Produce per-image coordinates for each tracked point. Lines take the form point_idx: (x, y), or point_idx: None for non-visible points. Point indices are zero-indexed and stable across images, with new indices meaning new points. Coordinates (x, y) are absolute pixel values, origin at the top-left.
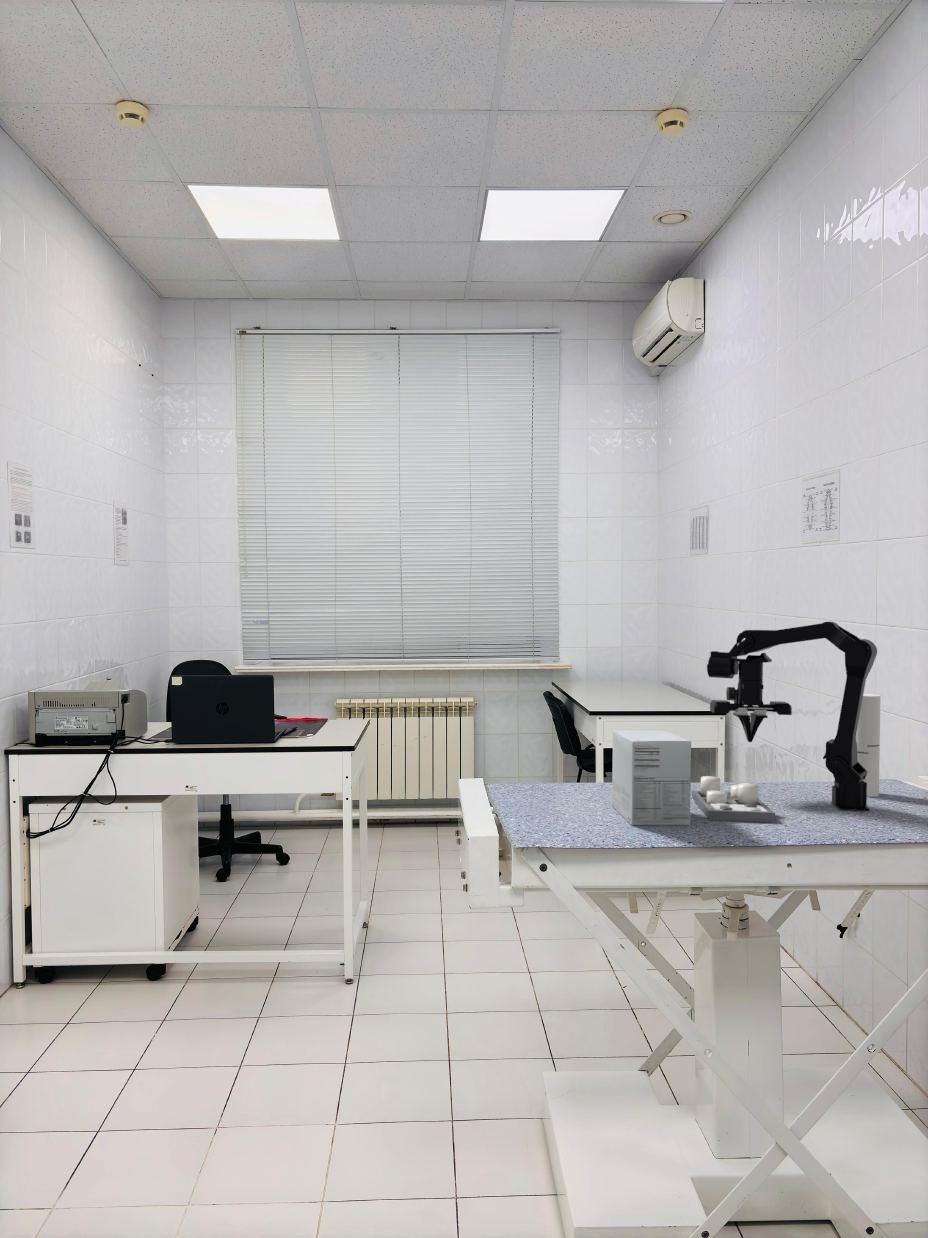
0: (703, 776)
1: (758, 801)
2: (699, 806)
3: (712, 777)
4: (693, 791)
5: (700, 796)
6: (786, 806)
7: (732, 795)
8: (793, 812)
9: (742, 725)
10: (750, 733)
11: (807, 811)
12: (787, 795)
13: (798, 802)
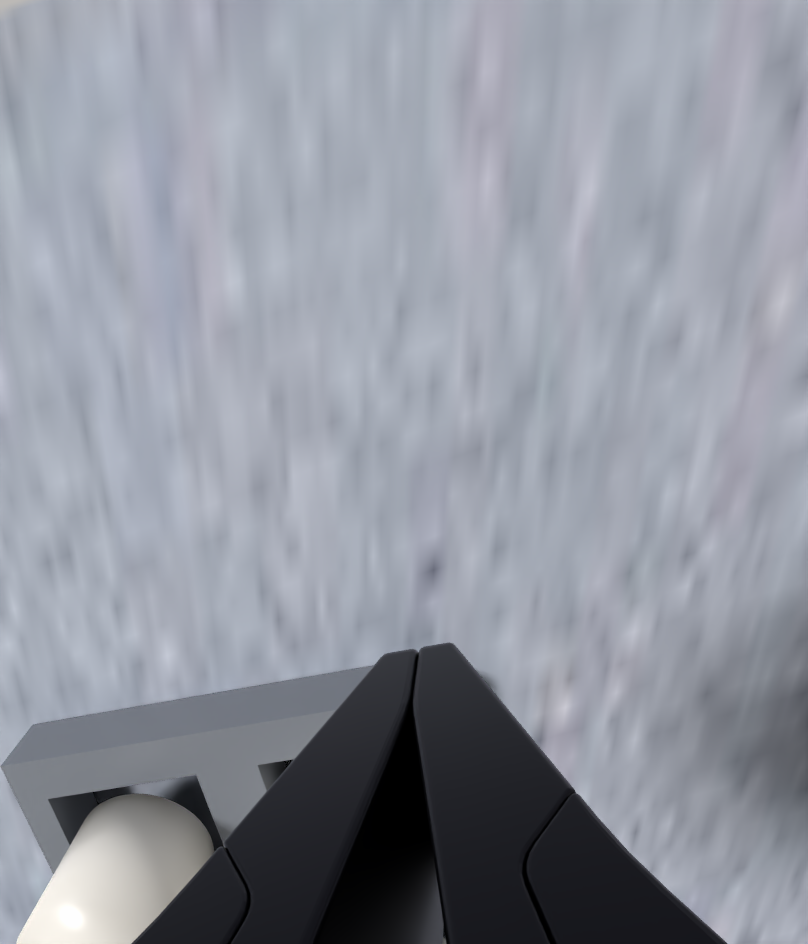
0: (28, 929)
1: None
2: None
3: (106, 941)
4: (16, 789)
5: None
6: (672, 732)
7: None
8: (685, 864)
9: (162, 935)
10: (438, 941)
11: (786, 819)
12: (764, 356)
13: (794, 589)
